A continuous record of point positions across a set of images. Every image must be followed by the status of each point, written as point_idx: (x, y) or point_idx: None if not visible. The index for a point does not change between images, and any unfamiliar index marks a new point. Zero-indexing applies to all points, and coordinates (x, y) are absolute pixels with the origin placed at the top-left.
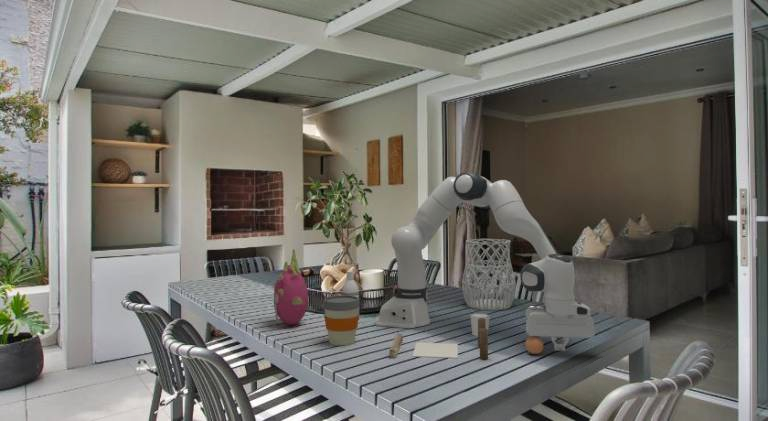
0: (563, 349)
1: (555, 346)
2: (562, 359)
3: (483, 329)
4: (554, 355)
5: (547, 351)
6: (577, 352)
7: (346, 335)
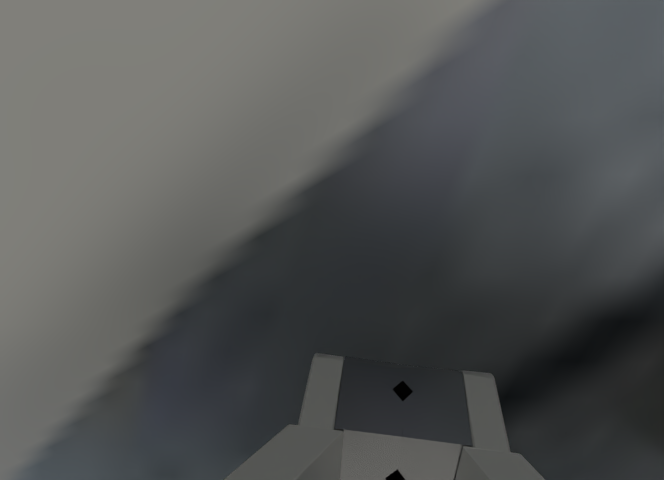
0: (338, 369)
1: (504, 430)
2: (437, 101)
3: None
4: (500, 303)
5: (532, 455)
6: (117, 403)
7: None
